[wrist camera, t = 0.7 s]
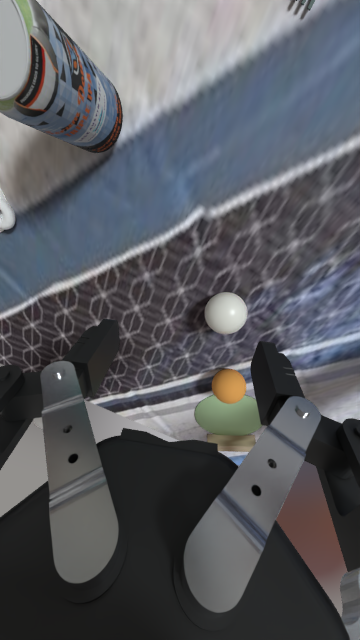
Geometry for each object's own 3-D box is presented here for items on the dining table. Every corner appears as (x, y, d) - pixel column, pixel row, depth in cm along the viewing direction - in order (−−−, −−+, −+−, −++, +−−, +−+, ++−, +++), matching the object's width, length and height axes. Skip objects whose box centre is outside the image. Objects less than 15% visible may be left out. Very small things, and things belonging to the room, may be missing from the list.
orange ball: (247, 364, 38) (253, 391, 33) (239, 386, 41) (242, 413, 36) (215, 359, 38) (215, 385, 34) (209, 381, 41) (208, 407, 37)
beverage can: (105, 168, 25) (35, 164, 15) (45, 105, 23) (-87, 52, 12) (140, 111, 22) (83, 61, 12) (75, 34, 20) (-63, -110, 10)
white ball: (249, 288, 31) (256, 309, 26) (238, 322, 34) (243, 345, 29) (208, 282, 31) (208, 301, 26) (201, 316, 34) (200, 338, 29)
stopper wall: (254, 435, 48) (256, 446, 46) (254, 440, 49) (256, 451, 47) (207, 433, 50) (207, 445, 48) (208, 439, 51) (207, 450, 49)
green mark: (276, 399, 42) (276, 400, 42) (253, 440, 50) (253, 441, 49) (201, 387, 42) (201, 388, 42) (190, 429, 50) (190, 430, 50)
